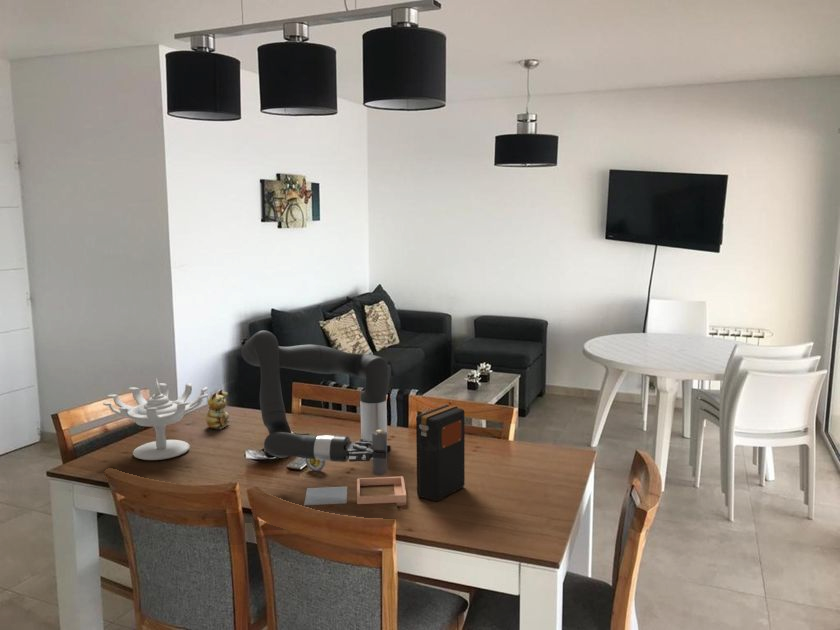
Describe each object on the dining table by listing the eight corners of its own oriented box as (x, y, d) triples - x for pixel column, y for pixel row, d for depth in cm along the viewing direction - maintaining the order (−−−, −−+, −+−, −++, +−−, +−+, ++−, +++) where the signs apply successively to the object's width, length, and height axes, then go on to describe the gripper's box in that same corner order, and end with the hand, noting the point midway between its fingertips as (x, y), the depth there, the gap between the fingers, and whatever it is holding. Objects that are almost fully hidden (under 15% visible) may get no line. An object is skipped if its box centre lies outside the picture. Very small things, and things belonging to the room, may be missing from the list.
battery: (372, 470, 201) (371, 428, 199) (386, 469, 202) (386, 428, 200) (372, 475, 197) (371, 433, 195) (387, 475, 197) (387, 432, 196)
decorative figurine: (220, 431, 262) (218, 393, 259) (200, 430, 263) (198, 392, 261) (232, 424, 271) (230, 387, 269) (213, 422, 273) (211, 386, 270)
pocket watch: (301, 482, 211) (300, 451, 210) (298, 472, 219) (297, 443, 218) (327, 479, 213) (326, 449, 212) (324, 470, 221) (323, 440, 220)
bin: (357, 487, 207) (357, 478, 206) (403, 485, 208) (403, 476, 208) (357, 507, 193) (357, 497, 193) (406, 505, 194) (406, 495, 194)
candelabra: (84, 466, 226) (77, 387, 222) (149, 433, 260) (144, 364, 256) (175, 475, 218) (170, 392, 214) (230, 439, 252) (226, 368, 248)
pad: (307, 491, 205) (307, 488, 204) (347, 489, 206) (347, 486, 206) (304, 508, 193) (304, 505, 193) (346, 506, 194) (346, 503, 194)
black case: (445, 480, 212) (445, 402, 208) (468, 487, 206) (468, 407, 203) (413, 496, 200) (412, 414, 196) (436, 504, 194) (436, 420, 191)
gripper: (324, 443, 193) (383, 447, 190) (339, 428, 207) (394, 431, 204) (325, 469, 194) (383, 473, 192) (339, 452, 208) (394, 455, 205)
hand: (388, 451), depth 198 cm, fingers closed on battery, 4 cm apart
